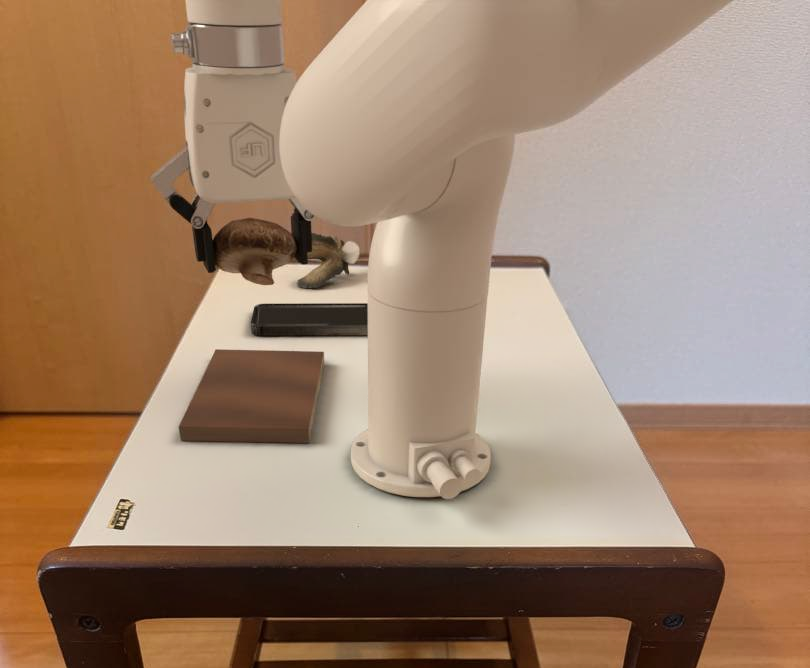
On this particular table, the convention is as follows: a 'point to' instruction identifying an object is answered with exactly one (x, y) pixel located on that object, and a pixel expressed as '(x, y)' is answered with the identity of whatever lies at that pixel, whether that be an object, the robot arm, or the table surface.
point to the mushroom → (253, 249)
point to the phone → (310, 319)
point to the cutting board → (255, 397)
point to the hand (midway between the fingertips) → (255, 263)
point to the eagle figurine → (329, 260)
